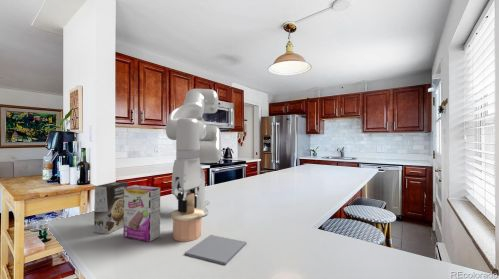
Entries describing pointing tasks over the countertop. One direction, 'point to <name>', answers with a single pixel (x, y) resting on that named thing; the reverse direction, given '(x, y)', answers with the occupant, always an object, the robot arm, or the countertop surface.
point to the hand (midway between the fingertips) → (187, 209)
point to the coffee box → (109, 207)
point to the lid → (188, 211)
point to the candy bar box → (142, 212)
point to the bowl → (187, 230)
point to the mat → (216, 249)
